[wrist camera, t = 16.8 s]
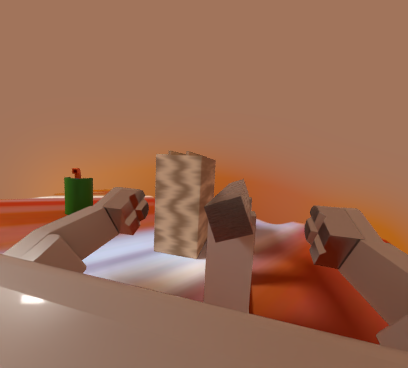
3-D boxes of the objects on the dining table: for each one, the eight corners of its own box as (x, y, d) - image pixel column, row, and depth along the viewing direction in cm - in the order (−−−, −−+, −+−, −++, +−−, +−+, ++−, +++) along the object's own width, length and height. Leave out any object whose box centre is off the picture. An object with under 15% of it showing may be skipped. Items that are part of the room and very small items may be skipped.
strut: (215, 242, 15) (203, 206, 15) (234, 197, 41) (229, 183, 41) (253, 234, 15) (240, 195, 14) (248, 193, 40) (243, 179, 40)
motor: (93, 209, 82) (93, 168, 80) (91, 214, 74) (91, 169, 72) (67, 210, 77) (66, 167, 75) (62, 216, 69) (60, 167, 67)
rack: (196, 338, 23) (203, 212, 21) (215, 269, 38) (220, 194, 37) (249, 353, 21) (261, 218, 20) (247, 276, 37) (253, 196, 35)
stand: (153, 251, 45) (156, 150, 43) (180, 226, 65) (183, 156, 62) (196, 258, 43) (202, 151, 40) (211, 230, 62) (215, 157, 59)
